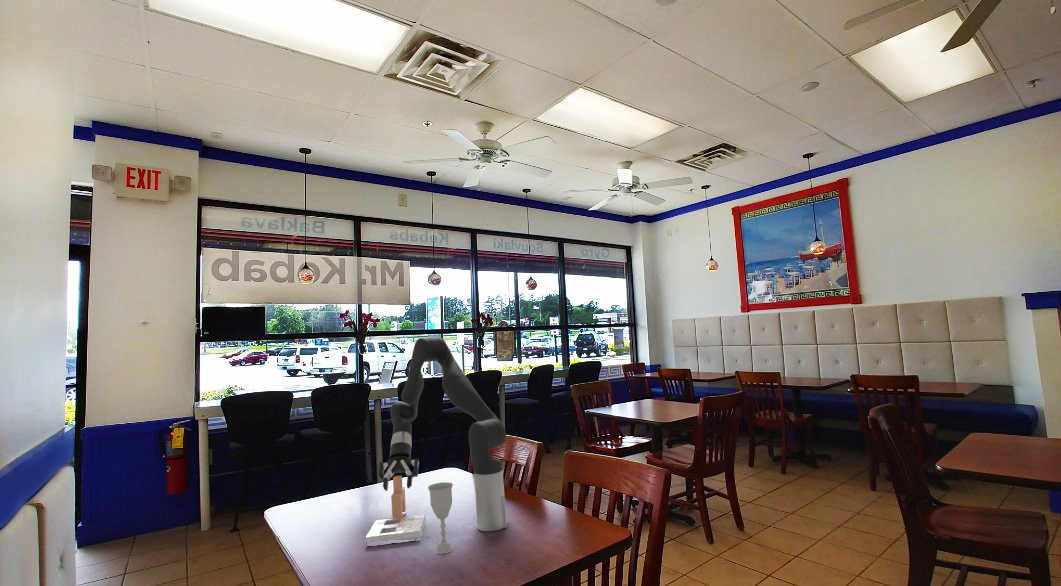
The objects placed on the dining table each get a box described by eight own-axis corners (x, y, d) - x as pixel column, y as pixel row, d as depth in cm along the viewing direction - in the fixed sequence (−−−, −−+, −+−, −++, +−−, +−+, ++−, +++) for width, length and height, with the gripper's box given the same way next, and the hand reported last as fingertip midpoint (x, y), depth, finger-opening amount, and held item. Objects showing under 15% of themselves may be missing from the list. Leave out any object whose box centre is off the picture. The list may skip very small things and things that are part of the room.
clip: (406, 512, 176) (403, 472, 178) (401, 522, 167) (399, 480, 168) (397, 513, 176) (395, 473, 177) (392, 523, 167) (390, 481, 168)
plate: (425, 524, 164) (425, 514, 164) (420, 540, 150) (419, 530, 150) (376, 529, 162) (375, 520, 162) (366, 547, 148) (365, 537, 148)
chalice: (459, 544, 145) (455, 481, 146) (453, 554, 138) (449, 488, 140) (435, 545, 145) (431, 483, 147) (428, 555, 139) (424, 490, 140)
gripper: (379, 443, 181) (373, 485, 168) (419, 439, 182) (416, 480, 169) (383, 454, 185) (378, 496, 173) (421, 450, 187) (419, 491, 174)
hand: (397, 488), depth 171 cm, fingers open, 7 cm apart
